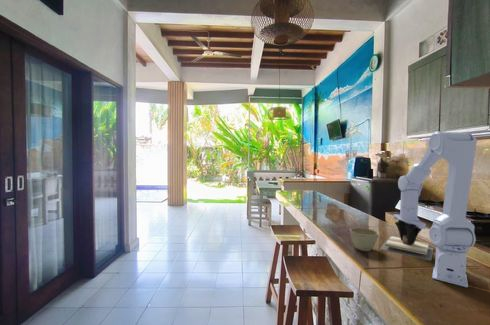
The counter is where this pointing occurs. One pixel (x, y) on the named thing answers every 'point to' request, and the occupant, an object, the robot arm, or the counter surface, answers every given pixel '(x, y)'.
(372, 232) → the beige bowl
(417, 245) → the lid
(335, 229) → the counter surface
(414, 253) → the mat
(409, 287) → the counter surface
